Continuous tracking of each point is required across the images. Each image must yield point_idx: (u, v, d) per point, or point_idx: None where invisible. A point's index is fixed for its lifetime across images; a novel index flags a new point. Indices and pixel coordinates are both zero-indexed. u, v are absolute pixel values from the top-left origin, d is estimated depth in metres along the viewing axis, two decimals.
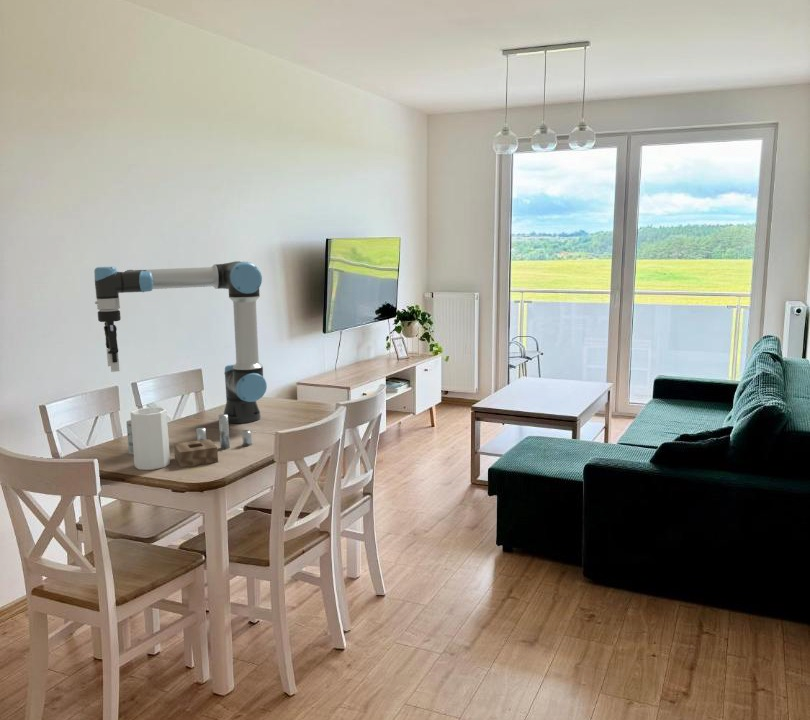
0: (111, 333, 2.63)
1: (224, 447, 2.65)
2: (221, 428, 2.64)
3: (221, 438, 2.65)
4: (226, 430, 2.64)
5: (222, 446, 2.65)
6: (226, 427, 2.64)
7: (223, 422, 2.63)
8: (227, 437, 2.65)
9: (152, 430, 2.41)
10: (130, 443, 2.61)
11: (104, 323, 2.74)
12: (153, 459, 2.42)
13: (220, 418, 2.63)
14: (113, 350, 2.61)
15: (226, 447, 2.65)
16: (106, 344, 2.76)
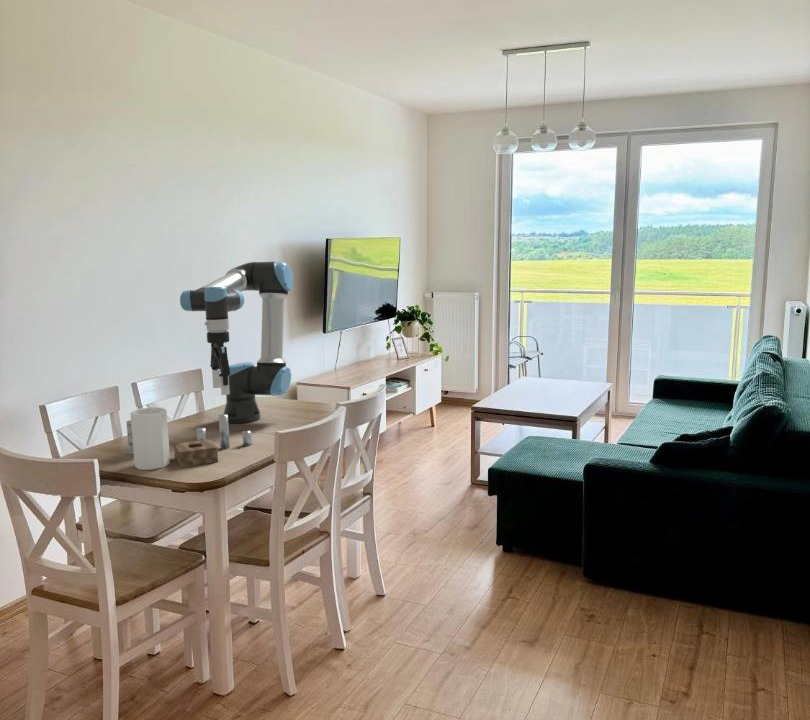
0: (222, 355, 2.54)
1: (224, 447, 2.65)
2: (221, 428, 2.64)
3: (221, 438, 2.65)
4: (226, 430, 2.64)
5: (222, 446, 2.65)
6: (226, 427, 2.64)
7: (223, 422, 2.63)
8: (227, 437, 2.65)
9: (152, 430, 2.41)
10: (130, 443, 2.61)
11: (211, 344, 2.65)
12: (153, 459, 2.42)
13: (220, 418, 2.63)
14: (225, 373, 2.53)
15: (226, 447, 2.65)
16: (211, 365, 2.68)
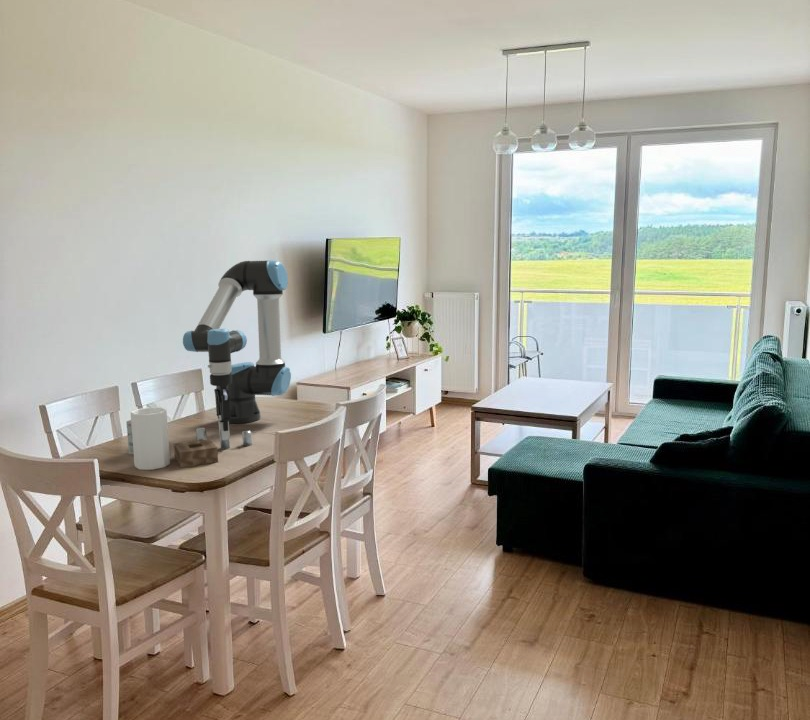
0: (225, 403, 2.59)
1: (224, 447, 2.65)
2: None
3: (221, 438, 2.65)
4: None
5: (222, 446, 2.65)
6: None
7: None
8: None
9: (152, 430, 2.41)
10: (130, 443, 2.61)
11: (214, 390, 2.68)
12: (153, 459, 2.42)
13: (220, 418, 2.63)
14: (225, 419, 2.60)
15: (226, 447, 2.65)
16: (217, 415, 2.67)
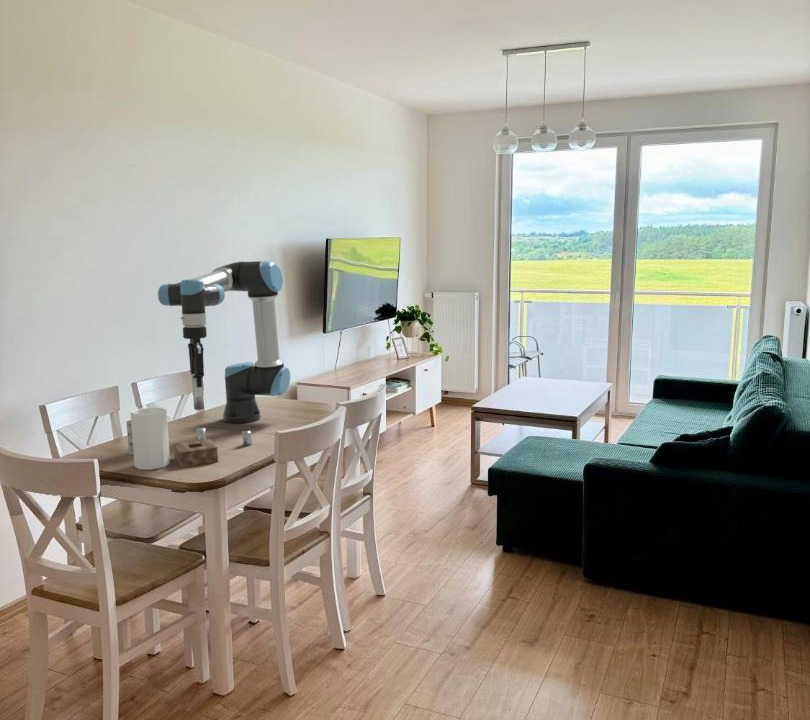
0: (198, 356, 2.44)
1: (198, 408, 2.51)
2: None
3: (195, 398, 2.50)
4: None
5: (196, 407, 2.51)
6: None
7: None
8: (201, 397, 2.51)
9: (152, 430, 2.41)
10: (130, 443, 2.61)
11: None
12: (153, 459, 2.42)
13: None
14: (199, 374, 2.46)
15: (200, 408, 2.51)
16: (191, 371, 2.53)
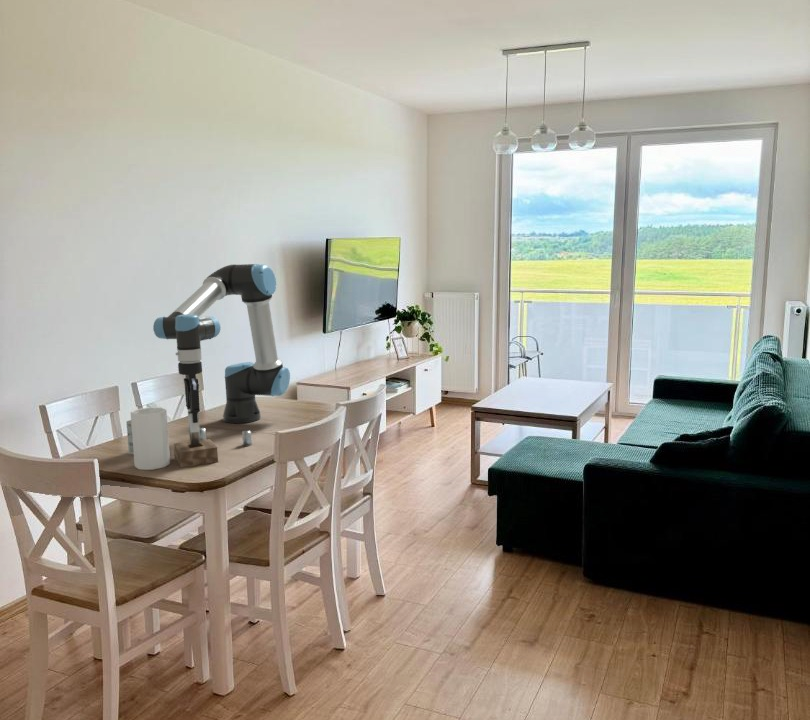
0: (194, 393, 2.43)
1: (194, 443, 2.50)
2: None
3: (191, 433, 2.50)
4: None
5: (192, 442, 2.50)
6: None
7: None
8: (197, 432, 2.50)
9: (152, 430, 2.41)
10: (130, 443, 2.61)
11: None
12: (153, 459, 2.42)
13: None
14: (194, 410, 2.45)
15: (196, 443, 2.50)
16: (187, 406, 2.52)
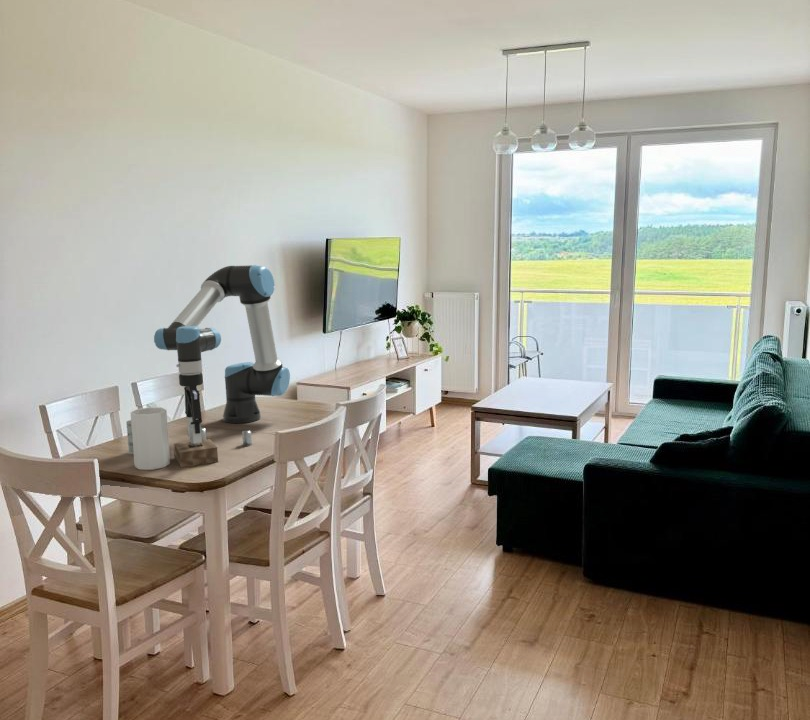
0: (195, 402, 2.43)
1: None
2: (192, 438, 2.50)
3: None
4: None
5: None
6: None
7: None
8: None
9: (152, 430, 2.41)
10: (130, 443, 2.61)
11: (184, 388, 2.54)
12: (153, 459, 2.42)
13: (190, 428, 2.50)
14: (197, 421, 2.43)
15: None
16: (186, 413, 2.55)
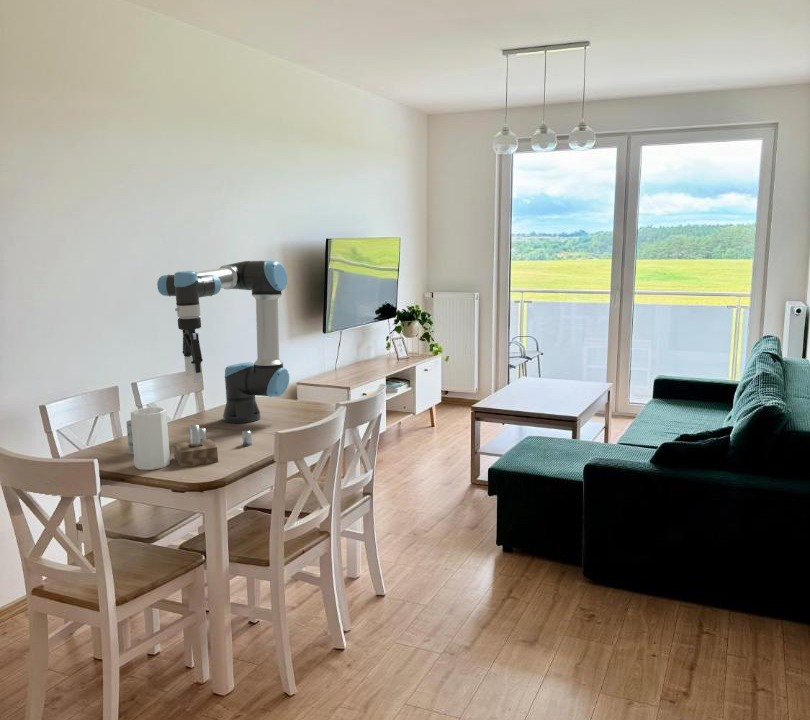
0: (194, 342, 2.48)
1: None
2: (192, 439, 2.50)
3: None
4: (197, 441, 2.50)
5: None
6: (197, 438, 2.50)
7: (194, 433, 2.49)
8: None
9: (152, 430, 2.41)
10: (130, 443, 2.61)
11: (182, 330, 2.59)
12: (153, 459, 2.42)
13: (191, 429, 2.49)
14: (197, 360, 2.47)
15: None
16: (184, 352, 2.62)
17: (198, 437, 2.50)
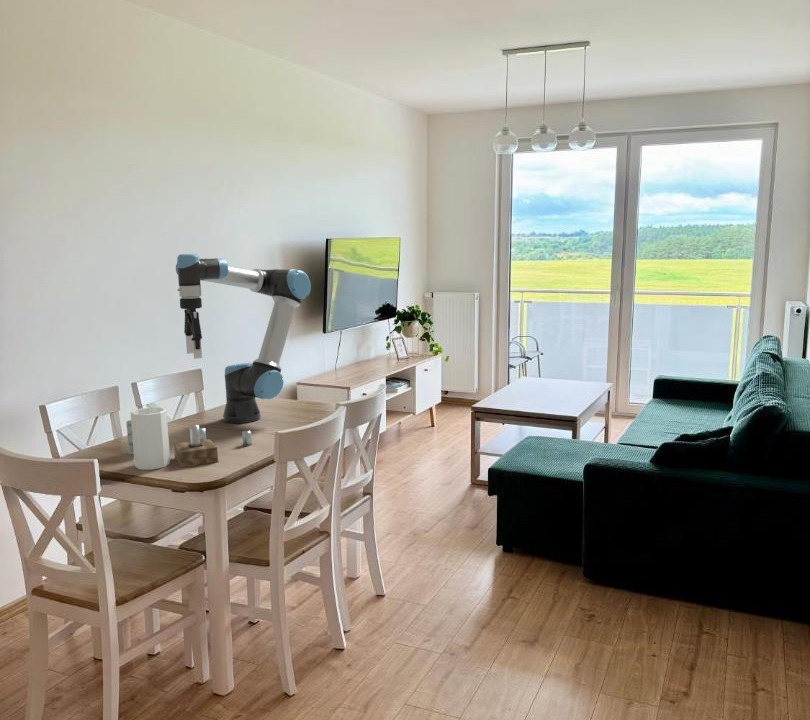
0: (194, 320, 2.63)
1: None
2: (192, 439, 2.50)
3: None
4: (197, 441, 2.50)
5: None
6: (197, 438, 2.50)
7: (194, 433, 2.49)
8: None
9: (152, 430, 2.41)
10: (130, 443, 2.61)
11: None
12: (153, 459, 2.42)
13: (191, 429, 2.49)
14: (197, 337, 2.62)
15: None
16: (185, 332, 2.77)
17: (198, 437, 2.50)
